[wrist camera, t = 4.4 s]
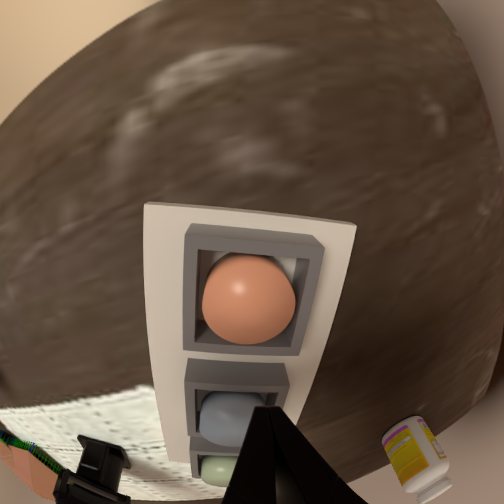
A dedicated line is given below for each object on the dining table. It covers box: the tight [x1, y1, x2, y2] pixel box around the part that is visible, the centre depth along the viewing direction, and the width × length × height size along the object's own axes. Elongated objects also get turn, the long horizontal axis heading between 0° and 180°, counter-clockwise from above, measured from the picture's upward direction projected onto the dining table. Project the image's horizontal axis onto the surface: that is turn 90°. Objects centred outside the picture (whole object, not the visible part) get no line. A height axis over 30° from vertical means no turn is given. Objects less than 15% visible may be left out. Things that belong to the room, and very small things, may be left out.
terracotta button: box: [202, 252, 295, 344], centre depth 16 cm, size 5×5×2 cm
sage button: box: [201, 455, 238, 487], centre depth 21 cm, size 5×5×2 cm
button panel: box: [143, 202, 357, 478], centre depth 20 cm, size 29×13×4 cm, turn 173°
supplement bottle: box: [382, 416, 452, 504], centre depth 22 cm, size 7×7×13 cm
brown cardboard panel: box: [0, 430, 72, 501], centre depth 27 cm, size 23×33×8 cm
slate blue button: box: [199, 391, 266, 447], centre depth 18 cm, size 5×5×2 cm
